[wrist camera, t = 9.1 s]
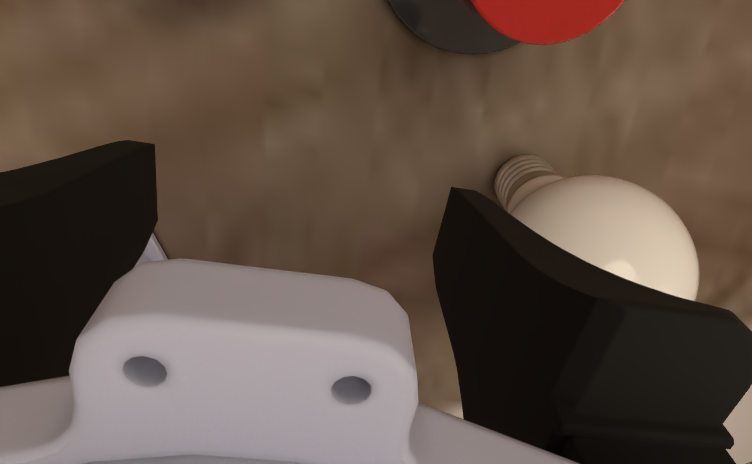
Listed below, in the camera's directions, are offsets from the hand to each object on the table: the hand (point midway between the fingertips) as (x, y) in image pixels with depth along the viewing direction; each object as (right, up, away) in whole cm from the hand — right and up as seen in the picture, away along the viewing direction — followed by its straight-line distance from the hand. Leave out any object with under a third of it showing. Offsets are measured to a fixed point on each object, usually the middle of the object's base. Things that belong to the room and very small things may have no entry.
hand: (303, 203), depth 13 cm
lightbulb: (+8, +2, +12) cm, 14 cm away
